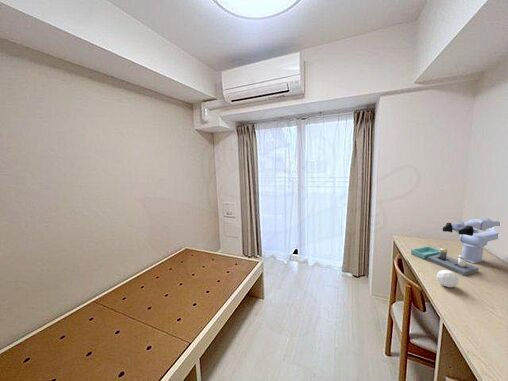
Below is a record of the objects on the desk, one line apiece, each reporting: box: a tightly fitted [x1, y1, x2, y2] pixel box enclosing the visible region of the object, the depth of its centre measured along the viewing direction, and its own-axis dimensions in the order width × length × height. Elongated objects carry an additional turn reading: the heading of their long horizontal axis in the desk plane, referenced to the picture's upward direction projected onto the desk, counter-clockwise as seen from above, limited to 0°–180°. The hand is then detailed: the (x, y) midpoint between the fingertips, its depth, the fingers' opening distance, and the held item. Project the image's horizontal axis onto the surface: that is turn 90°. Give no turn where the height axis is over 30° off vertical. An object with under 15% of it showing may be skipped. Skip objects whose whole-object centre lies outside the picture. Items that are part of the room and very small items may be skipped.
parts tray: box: [410, 245, 440, 260], centre depth 135 cm, size 15×8×3 cm, turn 107°
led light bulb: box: [439, 247, 448, 261], centre depth 126 cm, size 3×3×8 cm
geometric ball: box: [436, 269, 459, 288], centre depth 103 cm, size 8×8×8 cm
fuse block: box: [426, 254, 479, 276], centre depth 122 cm, size 12×18×2 cm, turn 17°
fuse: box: [457, 254, 467, 269], centre depth 117 cm, size 3×3×8 cm
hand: (451, 231), depth 119 cm, fingers open, 7 cm apart
